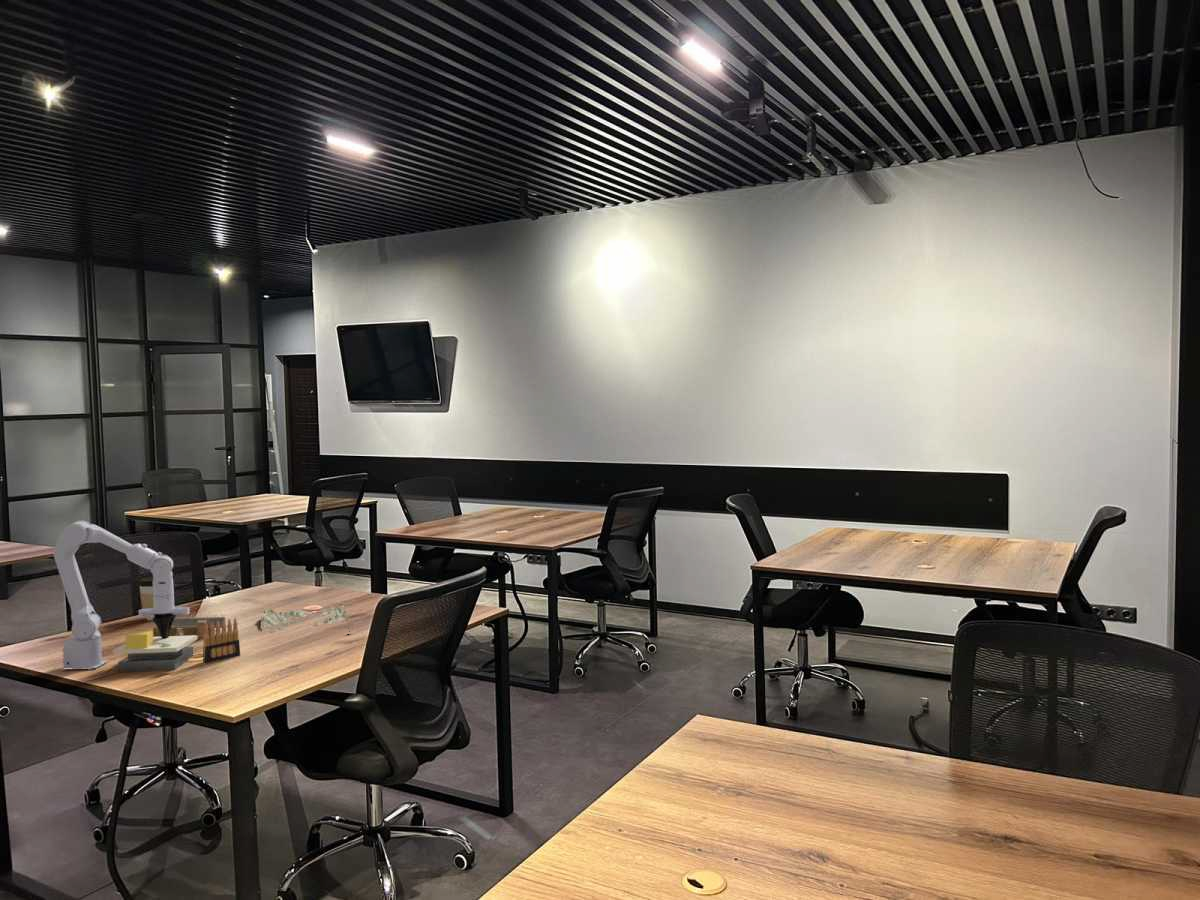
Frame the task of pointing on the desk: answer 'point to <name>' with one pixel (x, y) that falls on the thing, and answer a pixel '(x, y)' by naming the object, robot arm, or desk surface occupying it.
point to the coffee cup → (147, 594)
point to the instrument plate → (153, 643)
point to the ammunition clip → (221, 642)
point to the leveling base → (155, 660)
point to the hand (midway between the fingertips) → (165, 637)
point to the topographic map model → (274, 618)
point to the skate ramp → (191, 626)
